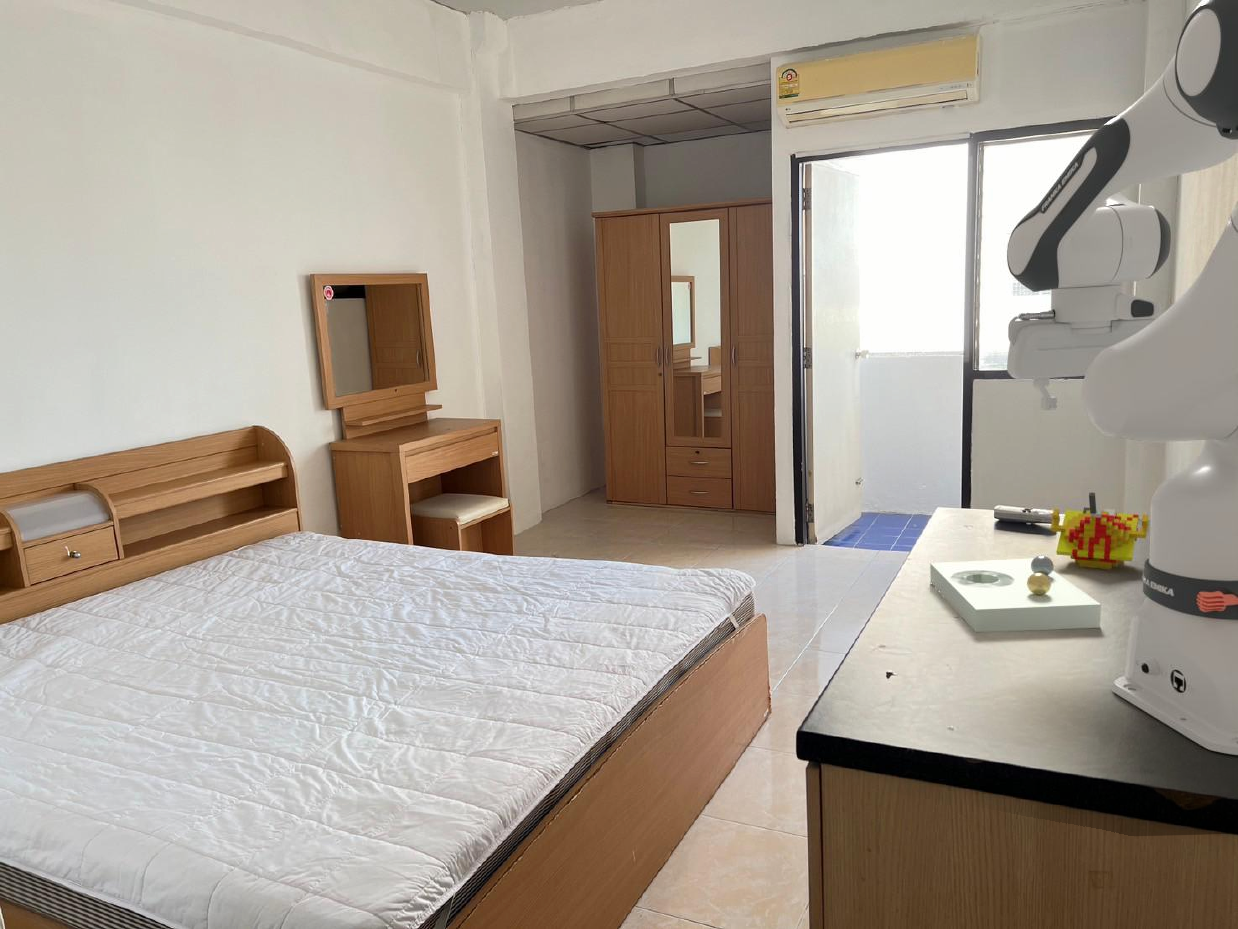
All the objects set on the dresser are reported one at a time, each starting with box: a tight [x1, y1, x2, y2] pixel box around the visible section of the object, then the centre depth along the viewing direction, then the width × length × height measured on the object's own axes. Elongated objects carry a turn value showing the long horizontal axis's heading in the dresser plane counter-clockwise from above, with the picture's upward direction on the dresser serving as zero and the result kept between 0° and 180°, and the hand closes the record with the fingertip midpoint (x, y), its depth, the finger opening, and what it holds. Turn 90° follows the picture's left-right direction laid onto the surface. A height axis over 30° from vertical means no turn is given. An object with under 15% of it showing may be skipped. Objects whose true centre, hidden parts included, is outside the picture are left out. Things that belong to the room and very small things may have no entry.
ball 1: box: [1031, 555, 1054, 576], centre depth 132 cm, size 3×3×3 cm
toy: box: [1050, 492, 1150, 570], centre depth 144 cm, size 14×10×15 cm
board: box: [929, 557, 1102, 634], centre depth 131 cm, size 22×16×3 cm
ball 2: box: [1027, 573, 1051, 595], centre depth 124 cm, size 3×3×3 cm
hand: (1083, 407), depth 127 cm, fingers open, 8 cm apart
